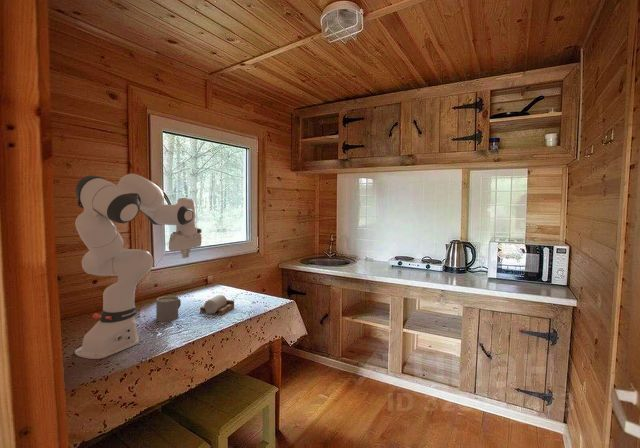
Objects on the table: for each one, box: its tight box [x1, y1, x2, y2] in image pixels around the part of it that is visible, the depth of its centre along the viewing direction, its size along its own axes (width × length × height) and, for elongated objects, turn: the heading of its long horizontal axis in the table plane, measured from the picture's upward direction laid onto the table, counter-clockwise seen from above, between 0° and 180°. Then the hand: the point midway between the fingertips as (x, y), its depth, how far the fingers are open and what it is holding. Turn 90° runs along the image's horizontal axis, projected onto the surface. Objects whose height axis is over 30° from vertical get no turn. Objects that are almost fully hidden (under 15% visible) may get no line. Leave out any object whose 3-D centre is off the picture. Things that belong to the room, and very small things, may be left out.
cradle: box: [199, 299, 235, 316], centre depth 172 cm, size 12×13×4 cm
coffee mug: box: [155, 295, 182, 323], centre depth 160 cm, size 13×10×10 cm
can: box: [203, 294, 228, 315], centre depth 171 cm, size 8×8×12 cm
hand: (185, 257), depth 159 cm, fingers closed
